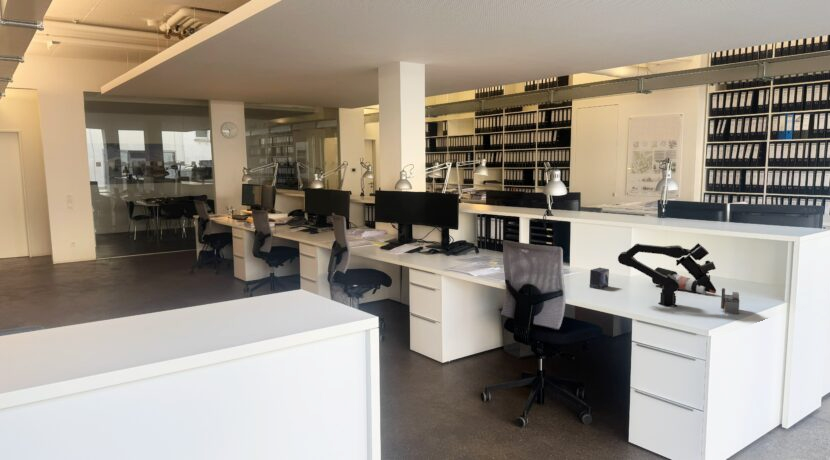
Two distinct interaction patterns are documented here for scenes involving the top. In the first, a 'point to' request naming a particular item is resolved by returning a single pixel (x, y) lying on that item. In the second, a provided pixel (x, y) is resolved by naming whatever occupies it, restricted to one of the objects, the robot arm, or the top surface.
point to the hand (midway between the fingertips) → (715, 290)
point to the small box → (599, 278)
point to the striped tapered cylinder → (683, 282)
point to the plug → (723, 299)
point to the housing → (732, 303)
